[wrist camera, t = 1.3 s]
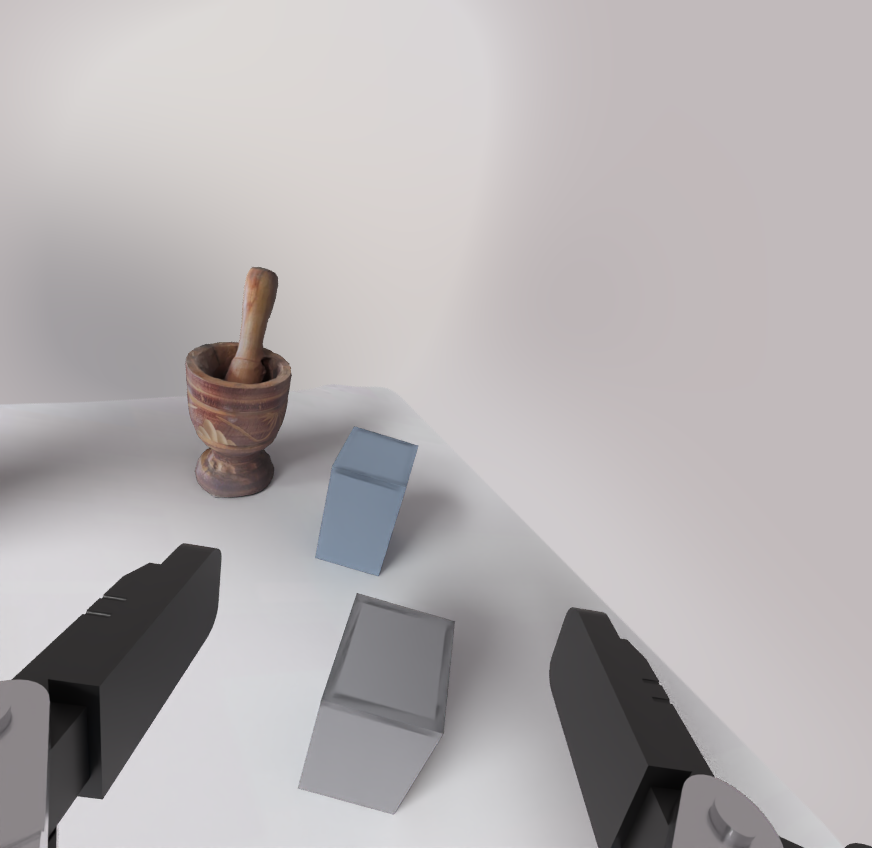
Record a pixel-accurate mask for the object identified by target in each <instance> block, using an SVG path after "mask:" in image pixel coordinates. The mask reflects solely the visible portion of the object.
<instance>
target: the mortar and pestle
mask: <svg viewBox="0 0 872 848" xmlns="http://www.w3.org/2000/svg"><path fill="white" fill-rule="evenodd" d="M277 288H278V277H277V275H276V274H275V273H274V272H272V271H270V270H268V269H265V268H261V267H252V268H251V269H250V271H249V272H248V274H247V277H246V282H245V287H244V295H243V296H244V297H243V308H242V324H241V333H240V340H239V343H237V342H219V343H214V344H205V345H202V346H200V347H198V348H195V349H194V350H192V351H191V352H190V353H188V356H187V357H186V381H187V396H188V406H189V413H190V417H191V420H192V423H193V425H194V427H195V430H196V433H197V435H198V436H199V438H200V439H201V440H202V441H203V442H204V443H205V444H206V445H207V446H209V447H210V448H209V449H207V450H206V451H204V453H203V454H202V455H201V457H200V458H199V459H198V462H197V465H196V469H195V473H196V478H197V481H198V483H199V484H200V485H201V487H202V488H203V489H205V490H206V491H207V492H208V493H210V494H211V495H212V496H214V497H238V496H245V495H251V494H254V493H256V492H259V491H262V490H263V489H264V488H266V487H267V486H268V484H269V483H270V482H271V480H272V478H273V472H274V467H273V464H272V462H271V460H270V456H269V454H267V453H266V452H265V450H264V449H265V448H266V447H267V446H269V445H270V444H271V443H272V442H273V441H274V439H275V438H276V436H277V433H278V431H279V429H280V427H281V425H282V423H283V420H284V417H285V413H286V408H287V403H288V394H289V388H290V381H291V376H292V375H291V370H290V369H291V367H290V366H289V363H288V362H287V361H286V360H285V359H284V358H283V357H281V356H280V355H278V354H276V353H273V352H272V351H270V350H268V349H266V348H263V338H264V334H265V331H266V327H267V322H268V319H269V318H270V315H271V311H272V309H273V305H274V302H275V299H276V293H277Z"/></svg>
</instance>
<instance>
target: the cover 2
mask: <svg viewBox="0 0 872 848" xmlns="http://www.w3.org/2000/svg"><path fill="white" fill-rule="evenodd" d="M454 624H455V621H452V620H448V619H445V618H441V617H438V616H434V615H431V614H427V613H424V612H420V611H417V610H414V609H410V608H407V607H403V606H400V605H396V604H393V603H389V602H386V601H383V600H379V599H376V598H372V597H369V596H365V595H362V594H358V593H357V595H356V598H355V601H354V604H353V607H352V610H351V613H350V615H349V618H348V621H347V624H346V627H345V630H344V633H343V636H342V639H341V642H340V645H339V648H338V651H337V654H336V657H335V660H334V663H333V666H332V669H331V672H330V675H329V678H328V681H327V684H326V687H325V690H324V693H323V696H322V699H321V703H320V707H319V711H318V714H317V718H316V722H315V726H314V729H313V733H312V737H311V741H310V745H309V748H308V752H307V756H306V760H305V763H304V767H303V771H302V775H301V778H300V782H299V786H298V788H299V789H303V790H307V791H310V792H314V793H317V794H321V795H325V796H328V797H332V798H336V799H339V800H343V801H347V802H350V803H354V804H358V805H361V806H365V807H369V808H372V809H376V810H380V811H383V812H387V813H390V814H394V813H395V812H396V810H397V808H398V807H399V805H400V803H401V802H402V800H403V799H404V797H405V795H406V794H407V792H408V790H409V789H410V787H411V786H412V784H413V782H414V781H415V779H416V777H417V776H418V774H419V773H420V771H421V769H422V768H423V766H424V764H425V763H426V761H427V760H428V758H429V756H430V755H431V753H432V751H433V750H434V748H435V747H436V745H437V743H438V742H439V740H440V738H441V737H442V735H443V732H444V722H445V713H446V703H447V693H448V683H449V673H450V663H451V653H452V644H453V634H454Z"/></svg>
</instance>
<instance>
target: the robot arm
mask: <svg viewBox="0 0 872 848" xmlns="http://www.w3.org/2000/svg"><path fill="white" fill-rule="evenodd" d="M220 571H221V551H220V550H219V549H217V548H210V547H204V546H198V545H192V544H186V543H184V544H181V545H180V546H179V547H178V548H177V549H176V550H175V551H174V552H173V553H172V554H171V555H170V556H169V557H168V558H167V559H166V560H165V561H164V562H163V563H162V564H161V565H160V564H154V563H148V564H146V565H144V566H142V567H140V568H139V569H137V570H135V571H133V572H131V573H129V574H127V575H125V576H123V577H122V578H121V579H120V580H119V581H118V582H117V583H116V584H114V585H113V586H112V587H111V588H110V589H109V590H108V591H107V592H106V593H105V594H104V596H103V598H102V599H101V598H99V599H98V600H97V601H96V602H95V603H94V604H93V605H92V606H91V607H90V608H89V609H88V610H87V612H86V614H82V615H81V616H80V617H79V618H78V619H77V620H76V621H75V622H73V623H72V624H71V625H70V626H69V627H68V628H67V629H66V630H65V631H64V632H63V633H62V634H61V635H59V636H58V637H57V638H56V639H55V640H54V641H53V642H52V643H51V644H50V645H49V646H48V647H47V648H45V649H44V650H43V651H42V652H41V653H40V654H39V655H38V656H37V657H36V658H35V659H34V660H32V661H31V662H30V663H29V664H28V665H27V666H26V667H25V668H24V669H23V670H22V671H21V672H20V673H18V674H17V675H16V676H15V677H14V678H13V679H12V680H7V681H0V848H58V840H59V828H58V823H59V822H60V820H61V819H62V817H63V816H64V814H65V813H66V812H67V810H68V809H69V807H70V806H71V804H72V803H73V802H74V800H75V799H76V797H77V796H80V797H88V798H96V799H103V798H104V796H105V795H106V793H107V792H108V790H109V789H110V787H111V786H112V784H113V782H114V781H115V779H116V778H117V776H118V775H119V773H120V772H121V770H122V769H123V767H124V765H125V764H126V762H127V761H128V759H129V758H130V756H131V755H132V753H133V752H134V750H135V748H136V747H137V745H138V744H139V742H140V741H141V739H142V738H143V736H144V735H145V733H146V731H147V730H148V728H149V727H150V725H151V724H152V722H153V721H154V719H155V718H156V716H157V714H158V713H159V711H160V710H161V708H162V707H163V705H164V704H165V702H166V700H167V699H168V697H169V696H170V694H171V693H172V691H173V690H174V688H175V687H176V685H177V683H178V682H179V680H180V679H181V677H182V676H183V674H184V673H185V671H186V670H187V668H188V666H189V665H190V663H191V662H192V660H193V659H194V657H195V656H196V654H197V653H198V651H199V649H200V648H201V646H202V645H203V643H204V642H205V640H206V639H207V637H208V635H209V633H210V631H211V629H212V627H213V624H214V621H215V618H216V615H217V610H218V601H219V586H220ZM549 678H550V687H551V691H552V694H553V698H554V701H555V704H556V708H557V711H558V714H559V718H560V721H561V725H562V728H563V731H564V735H565V738H566V741H567V745H568V748H569V751H570V755H571V758H572V761H573V765H574V768H575V771H576V775H577V778H578V781H579V785H580V788H581V791H582V795H583V798H584V801H585V805H586V808H587V811H588V815H589V818H590V821H591V825H592V828H593V831H594V835H595V838H596V842H597V845H598V848H803V847H801V846H799V845H797V844H795V843H792V842H790V841H788V840H786V839H784V838H782V837H780V836H778V834H777V832H776V831H775V829H774V827H773V826H772V824H771V823H770V822H769V820H768V819H767V818H766V816H765V815H764V814H763V813H762V812H761V811H760V809H759V808H758V807H757V806H756V805H755V804H754V803H753V802H752V801H751V800H750V799H748V798H747V797H746V796H745V795H744V794H743V793H741V792H740V791H739V790H737V789H736V788H734V787H733V786H731V785H730V784H728V783H726V782H724V781H722V780H720V779H718V778H715V777H714V775H713V773H712V772H711V770H710V768H709V766H708V765H707V763H706V761H705V759H704V758H703V756H702V754H701V753H700V751H699V749H698V747H697V746H696V744H695V742H694V741H693V739H692V737H691V735H690V734H689V732H688V730H687V729H686V727H685V725H684V723H683V722H682V720H681V718H680V717H679V715H678V713H677V711H676V710H675V708H674V706H673V704H670V702H669V700H670V699H669V698H668V696H667V694H666V692H665V691H664V689H663V687H662V686H661V685H659V680H658V679H657V677H656V675H655V674H654V672H653V670H652V668H651V667H650V665H649V663H648V661H647V660H646V659H645V658H644V657H643V656H642V655H641V654H640V653H639V651H638V650H637V649H636V648H635V647H634V646H633V645H632V644H631V643H630V642H629V641H628V640H625V639H620V638H619V636H618V634H617V632H616V630H615V628H614V627H613V625H612V623H611V621H610V619H609V617H608V616H607V615H606V614H605V613H604V612H598V611H592V610H586V609H579V608H573V607H572V608H570V609H569V610H568V612H567V614H566V616H565V619H564V622H563V625H562V628H561V631H560V634H559V637H558V640H557V643H556V646H555V649H554V652H553V655H552V658H551V662H550V670H549ZM845 848H872V847H871V846H868V845H864V844H858V843H853V844H849V845H847V846H846V847H845Z"/></svg>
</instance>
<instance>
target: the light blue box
mask: <svg viewBox="0 0 872 848" xmlns="http://www.w3.org/2000/svg"><path fill="white" fill-rule="evenodd" d="M417 449H418V445H414V444H411V443H408V442H404V441H401V440H398V439H395V438H391V437H388V436H385V435H381V434H378V433H375V432H371V431H368V430H365V429H361V428H358V427H355V426H354V428H353V429H352V431H351V433H350V435H349V437H348V438H347V440H346V442H345V444H344V446H343V447H342V449H341V451H340V453H339V455H338V456H337V458H336V460H335V462H334V464H333V466H332V470H331V476H330V481H329V486H328V492H327V497H326V503H325V508H324V513H323V519H322V524H321V530H320V535H319V540H318V546H317V551H316V557H315V558H318V559H321V560H325V561H328V562H332V563H335V564H338V565H342V566H345V567H349V568H352V569H356V570H359V571H362V572H366V573H369V574H373V575H376V576H379V573H380V570H381V567H382V564H383V560H384V557H385V554H386V551H387V548H388V544H389V541H390V538H391V535H392V532H393V528H394V525H395V522H396V519H397V515H398V512H399V509H400V506H401V503H402V499H403V496H404V493H405V490H406V486H407V483H408V480H409V476H410V473H411V469H412V466H413V462H414V459H415V456H416V452H417Z"/></svg>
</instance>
